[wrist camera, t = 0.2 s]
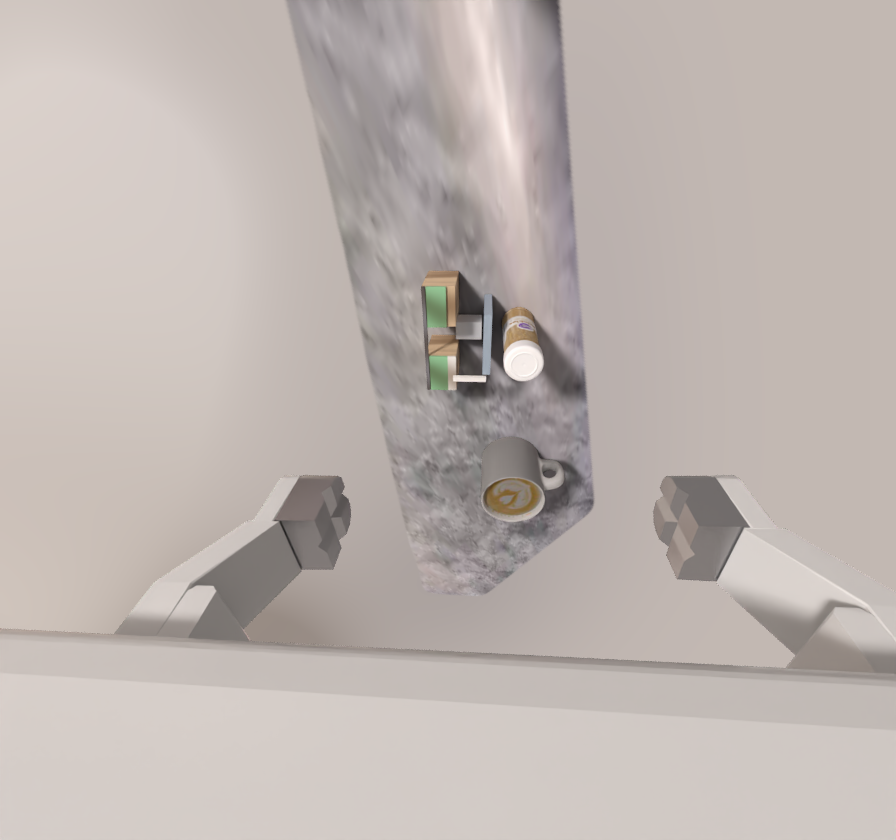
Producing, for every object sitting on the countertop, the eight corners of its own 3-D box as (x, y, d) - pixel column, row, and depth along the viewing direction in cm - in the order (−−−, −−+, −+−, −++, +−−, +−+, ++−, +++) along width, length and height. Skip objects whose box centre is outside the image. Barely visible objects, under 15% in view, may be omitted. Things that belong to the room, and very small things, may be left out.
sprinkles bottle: (534, 305, 55) (546, 346, 43) (532, 337, 57) (543, 382, 46) (501, 306, 55) (504, 346, 44) (500, 337, 58) (503, 383, 46)
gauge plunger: (456, 294, 54) (451, 316, 47) (491, 294, 54) (492, 316, 47) (457, 353, 59) (453, 381, 52) (489, 354, 59) (489, 382, 52)
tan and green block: (428, 271, 53) (421, 286, 47) (458, 270, 53) (454, 286, 47) (433, 365, 61) (427, 389, 55) (459, 366, 61) (456, 390, 55)
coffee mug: (482, 480, 74) (482, 522, 65) (480, 437, 68) (479, 477, 60) (556, 479, 72) (565, 522, 64) (561, 435, 66) (571, 476, 58)
